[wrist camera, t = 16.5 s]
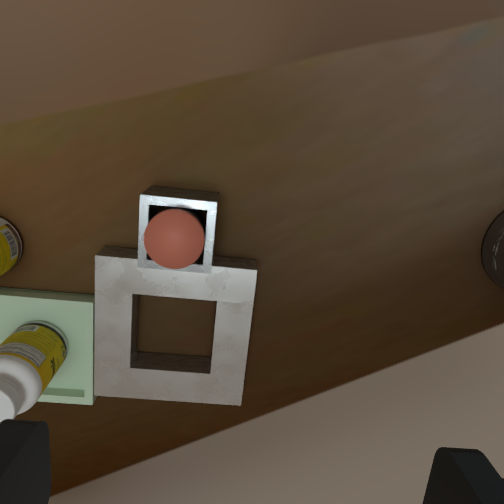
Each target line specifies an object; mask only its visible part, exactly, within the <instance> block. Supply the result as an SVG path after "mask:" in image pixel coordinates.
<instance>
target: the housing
mask: <svg viewBox="0 0 504 504" xmlns="http://www.w3.org/2000/svg"><path fill="white" fill-rule="evenodd" d="M218 200H219V192H210V191H200V190H190V189H181V188H171V187H162V186H150V187H149V188H148V189H147V190H145V191H144V192H143V193H141V194H140V210H139V237H138V249H135V248H125V247H114V246H104V247H103V248H102V249H101V250H100V251H99V252H98V253H97V254H96V255H95V345H94V396H109V397H124V398H138V399H153V400H167V401H182V402H197V403H211V404H226V405H240V406H241V401H242V392H243V384H244V376H245V368H246V360H247V351H248V343H249V335H250V327H251V319H252V310H253V302H254V294H255V286H256V278H257V265H256V260H253V259H242V258H231V257H221V256H213V255H214V244H215V233H216V222H217V211H218ZM159 205H160V206H170V207H180V208H190V209H200V210H208V211H207V223H206V235H205V247H204V248H203V250H202V253H201V255H200V256H199V258H198V259H197V260H196V261H195V262H194V263H193V264H191V265H189V266H187V267H185V268H181V269H169V268H165V267H163V266H160V265H159V264H157V263H156V262H154V261H153V260H152V259H151V258H150V256H149V255H148V253H147V251H146V249H145V246H144V232H145V229H146V227H147V225H148V223H149V222H150V221H151V220H152V218H153V217H154V216H155V215H157V214H158V212H159ZM139 294H141V295H152V296H164V297H176V298H187V299H199V300H210V301H217V308H216V319H215V329H214V339H213V350H212V357H202V356H188V355H175V354H162V353H149V352H137V334H138V309H139Z"/></svg>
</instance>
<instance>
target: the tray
mask: <svg viewBox="0 0 504 504" xmlns="http://www.w3.org/2000/svg"><path fill="white" fill-rule="evenodd" d="M32 321H42V322H46V323H49V324H51V325H53V326H55V327H56V328H58V329H59V330H60V331H61V332H62V333H63V335H64V336H65V338H66V340H67V344H68V353H67V356H66V359H65V360H64V362H63V364H62V365H61V367H60V368H59V370H58V371H57V373H56V374H55V375H54V377H53V378H52V380H51V381H50V383H49V384H48V386H47V387H46V389H45V390H44V392H43V393H42V394H41V396H40V397H39V399H38V400H37V401H40V402H55V403H70V404H85V405H93V403H94V401H95V399H96V397H97V396H94V345H95V295H91V294H79V293H67V292H56V291H44V290H32V289H20V288H9V287H0V344H1V343H2V342H3V341H4V340H5V339H6V338H7V337H8V336H10V335H11V333H13V332H14V331H15V330H16V329H17V328H18V327H20V326H21V325H23V324H25V323H28V322H32Z"/></svg>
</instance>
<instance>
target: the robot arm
mask: <svg viewBox="0 0 504 504" xmlns="http://www.w3.org/2000/svg"><path fill="white" fill-rule="evenodd" d="M482 261H483V264H484V268H485V270H486V272H487V274H488V275H489V277H490V278H491V279H492V280H493V281H494V282H495V283H496V284H498V285H500V286H501V287H503V288H504V212H503V213H502V214H501V215H500V216H499V217H498V218H497V219H496V220H495V221H494V222H493V224H492V225H491V227H490V228H489V230H488V232H487V234H486V237H485V239H484V242H483V248H482ZM50 491H51V466H50V446H49V429H48V425H47V423H46V422H45V421H33V420H17V419H5V420H3V421H2V422H0V504H48V501H49V497H50ZM423 504H504V479H503V478H501V477H500V475H499V474H498V473H497V471H496V470H495V468H494V467H493V466H492V464H491V463H490V462H489V460H488V459H487V458H486V456H485V455H484V454H483V453H482V452H481V451H479V450H477V449H462V448H447V447H441V448H439V449H438V450H437V451H436V453H435V456H434V460H433V464H432V469H431V472H430V476H429V480H428V484H427V488H426V493H425V496H424V500H423Z"/></svg>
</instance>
